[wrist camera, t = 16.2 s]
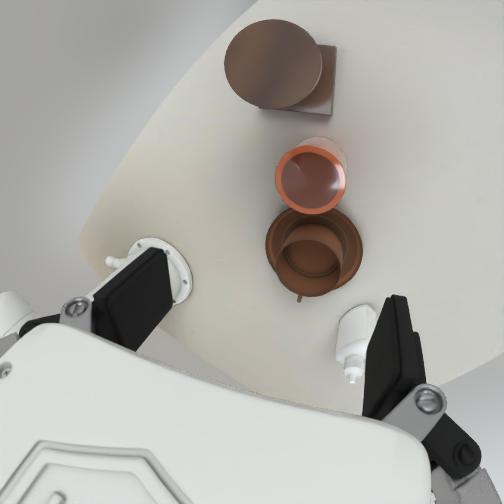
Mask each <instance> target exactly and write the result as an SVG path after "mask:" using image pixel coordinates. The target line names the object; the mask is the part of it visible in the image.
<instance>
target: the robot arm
mask: <svg viewBox="0 0 504 504" xmlns="http://www.w3.org/2000/svg"><path fill="white" fill-rule="evenodd" d="M105 264H106V266H108V267H111V268H114V269H117V270H116V271H115V272H113V273H112V274H111V275H110V276H109V277H107V278H106V279H105V280H104V281H103V282H102V283H100V284H99V285H98V286H97V287H96V288H94V289H93V290H92V291H91V292H90V293H89V294H87V296H85V297H77V298H73V299H71V300H69V301H68V302H66V303H65V304H64V305H63V307H62V310H61V314H56V315H52V316H47V317H42V318H39V317H38V316H37V314H36V313H35V312H34V310H33V309H32V308H31V306H30V305H29V304H28V302H27V301H26V300H25V299H24V298H23V297H22V296H21V295H20V294H19V293H17V292H15V291H6V292H3V293H1V294H0V504H430V503H431V492H432V493H434V495H435V498H436V500H435V501H434V502H435V504H502V502H501V500H500V498H499V495H498V493H497V491H496V489H495V487H494V485H493V483H492V481H491V479H490V477H489V475H488V473H487V471H486V469H485V468H484V469H481V467H480V465H479V464H480V462H481V450H480V448H479V446H478V445H477V443H476V442H475V441H474V440H473V439H472V438H471V437H470V436H469V435H468V434H467V433H466V432H465V431H464V430H462V429H461V428H460V427H459V426H458V425H457V424H456V423H455V422H454V421H453V420H452V419H451V418H450V417H449V416H448V415H447V414H446V413H444V412H445V410H446V407H447V400H446V397H445V395H444V393H443V392H442V391H441V390H440V389H439V388H438V387H436V386H434V385H431V384H426V376H425V368H424V361H423V354H422V348H421V342H420V337H419V333H418V332H413V330H412V324H411V318H410V313H409V308H408V303H407V298H406V297H405V296H399V295H394V294H393V295H392V296H391V298H389V297H387V298H386V300H385V303H384V305H383V308H382V311H381V313H380V316H379V319H378V321H377V324H376V326H375V329H374V331H373V334H372V336H371V339H370V341H369V344H368V346H367V350H366V366H365V385H364V400H363V411H362V416H358V415H353V414H349V413H344V412H338V411H333V410H328V409H323V408H318V407H313V406H308V405H304V404H299V403H294V402H290V401H286V400H281V399H277V398H273V397H269V396H265V395H261V394H258V393H254V392H250V391H247V390H243V389H239V388H236V387H233V386H229V385H226V384H223V383H220V382H216V381H213V380H210V379H207V378H204V377H201V376H198V375H195V374H192V373H189V372H186V371H183V370H181V369H178V368H175V367H172V366H170V365H167V364H164V363H162V362H159V361H157V360H154V359H152V358H149V357H147V356H144V355H142V354H139V353H137V352H136V351H137V349H138V348H139V347H140V346H141V344H142V343H143V342H144V341H145V340H146V338H147V337H148V336H149V335H150V333H151V332H152V331H153V329H154V328H155V327H156V326H157V325H158V324H159V322H160V321H161V320H162V319H163V318H164V316H165V315H166V314H167V313H168V312H169V310H170V309H171V308H172V305H176V304H179V303H182V302H183V301H184V300H185V299H186V298H187V297H188V296H189V294H190V292H191V290H192V275H191V272H190V269H189V267H188V265H187V263H186V261H185V259H184V258H183V257H182V256H181V254H180V253H179V252H178V251H177V250H176V249H175V248H174V247H172V246H171V245H170V244H168V243H167V242H165V241H163V240H161V239H157V238H152V237H147V238H142V239H140V240H138V241H137V242H135V243H134V244H133V245H132V246H131V248H130V250H129V253H128V257H127V258H126V259H125V258H121V259H118V258H116V257H112V256H108V257H107V258H106V261H105Z"/></svg>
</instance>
